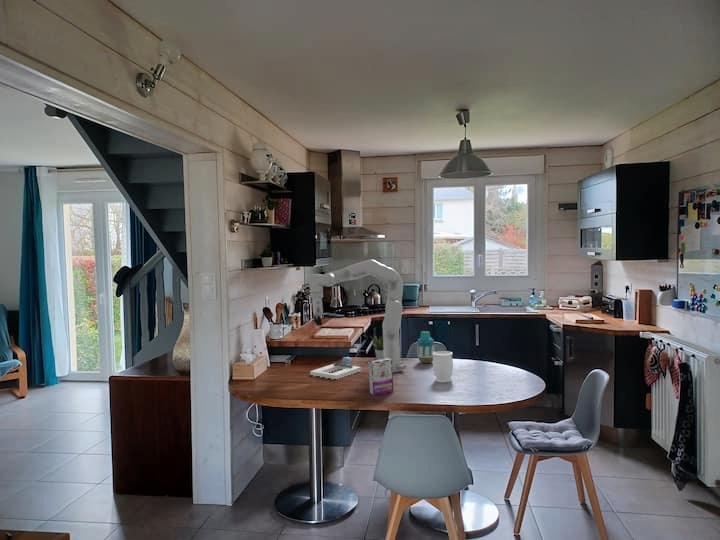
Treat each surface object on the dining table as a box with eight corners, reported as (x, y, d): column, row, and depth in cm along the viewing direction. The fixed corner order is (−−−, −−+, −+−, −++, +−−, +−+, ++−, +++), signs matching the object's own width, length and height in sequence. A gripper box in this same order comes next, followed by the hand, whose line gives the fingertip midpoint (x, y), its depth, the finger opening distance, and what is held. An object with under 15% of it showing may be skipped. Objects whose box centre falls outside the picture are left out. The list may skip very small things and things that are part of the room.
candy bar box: (389, 389, 251) (387, 357, 250) (393, 392, 246) (392, 359, 246) (369, 393, 246) (367, 360, 246) (373, 395, 242) (371, 362, 241)
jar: (431, 382, 260) (430, 354, 259) (435, 377, 269) (434, 350, 269) (451, 383, 256) (450, 355, 256) (455, 378, 266) (454, 351, 265)
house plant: (365, 361, 317) (363, 335, 317) (370, 356, 330) (369, 332, 330) (386, 361, 313) (385, 336, 312) (391, 356, 326) (390, 332, 326)
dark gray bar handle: (352, 367, 290) (352, 365, 290) (350, 368, 289) (350, 365, 289) (335, 365, 299) (335, 362, 299) (333, 365, 298) (333, 363, 298)
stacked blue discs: (352, 366, 305) (352, 357, 305) (347, 368, 301) (347, 359, 301) (346, 365, 308) (346, 356, 308) (341, 367, 304) (340, 358, 304)
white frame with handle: (361, 371, 291) (360, 367, 291) (336, 379, 274) (336, 375, 274) (335, 367, 304) (335, 363, 304) (310, 375, 287) (310, 371, 287)
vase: (416, 361, 310) (414, 331, 309) (432, 360, 311) (431, 330, 310) (420, 365, 299) (418, 333, 298) (437, 364, 300) (435, 332, 300)
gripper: (324, 296, 282) (326, 325, 283) (321, 293, 299) (322, 321, 300) (311, 296, 281) (313, 326, 281) (308, 294, 298) (310, 322, 298)
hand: (318, 324), depth 291 cm, fingers open, 9 cm apart
